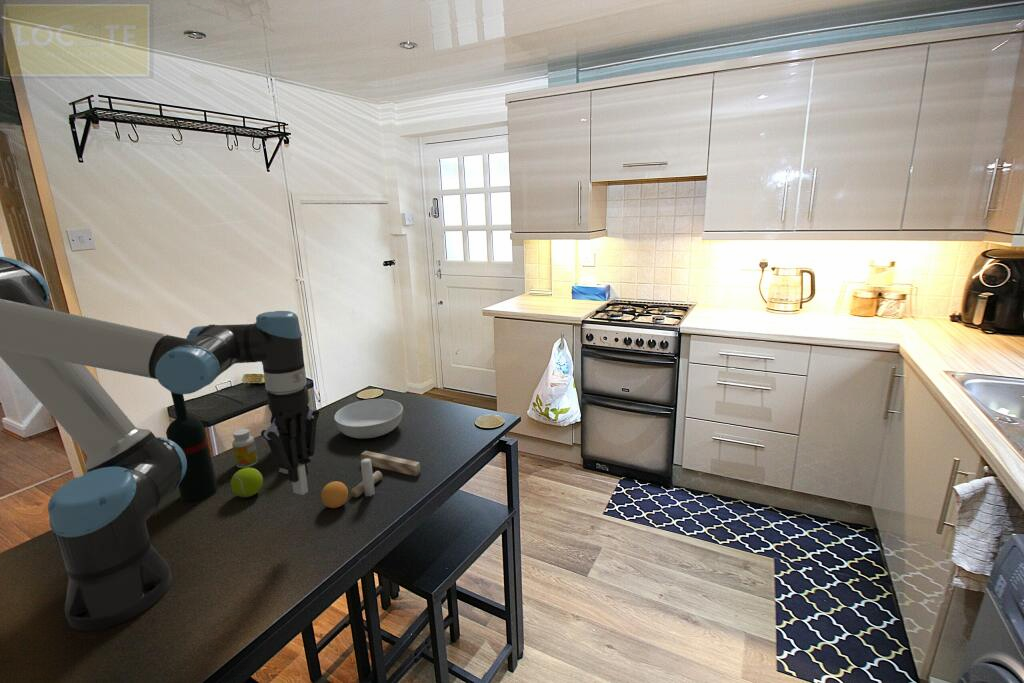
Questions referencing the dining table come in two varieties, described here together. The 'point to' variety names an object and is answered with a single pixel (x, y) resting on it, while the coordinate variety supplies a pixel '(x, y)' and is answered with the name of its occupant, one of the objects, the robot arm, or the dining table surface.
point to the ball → (334, 494)
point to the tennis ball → (246, 482)
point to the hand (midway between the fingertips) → (300, 491)
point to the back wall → (392, 463)
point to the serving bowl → (369, 418)
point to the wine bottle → (192, 454)
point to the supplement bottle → (244, 448)
